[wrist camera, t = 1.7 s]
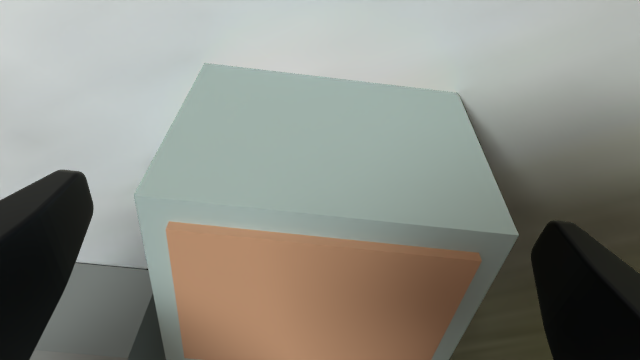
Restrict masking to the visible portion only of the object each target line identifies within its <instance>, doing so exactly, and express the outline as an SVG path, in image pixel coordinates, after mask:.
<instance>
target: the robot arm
mask: <svg viewBox="0 0 640 360" xmlns="http://www.w3.org/2000/svg"><path fill="white" fill-rule="evenodd" d="M92 215H93V201H92V198H91V194H90V190H89V187H88V183H87V180H86V177H85V175H84V174H83V173H82V172H79V171H71V170H58V171H55V172H53V173H51V174H50V175H48V176H46V177H44V178H42V179H40V180H38V181H36V182H34V183H32V184H30V185H29V186H27V187H25V188H23V189H21V190H19V191H17V192H15V193H13V194H11V195H10V196H8V197H6V198H4V199H2V200H0V360H30V358H31V356H32V354H33V352H34V350H35V348H36V346H37V344H38V342H39V340H40V338H41V336H42V334H43V332H44V330H45V328H46V326H47V324H48V322H49V320H50V318H51V316H52V314H53V312H54V310H55V308H56V306H57V304H58V302H59V300H60V298H61V296H62V294H63V292H64V290H65V288H66V286H67V283H68V281H69V278H70V276H71V273H72V270H73V268H74V265H75V262H76V259H77V257H78V254H79V251H80V248H81V246H82V243H83V240H84V237H85V235H86V232H87V229H88V226H89V224H90V221H91V218H92ZM531 261H532V267H533V272H534V278H535V283H536V288H537V294H538V299H539V304H540V310H541V315H542V320H543V325H544V329H545V333H546V336H547V340H548V343H549V347H550V350H551V353H552V356H553V360H640V274H639V273H638V272H636V271H635V270H634V269H633V268H631V267H630V266H629V265H627V264H626V263H625V262H623V261H622V260H621V259H620V258H618V257H617V256H616V255H614V254H613V253H612V252H610V251H609V250H608V249H607V248H605V247H604V246H603V245H601V244H600V243H599V242H598V241H596V240H595V239H594V238H592V237H591V236H590V235H588V234H587V233H586V232H585V231H583V230H582V229H581V228H579V227H578V226H577V225H575V224H574V223H571V222H564V221H551V222H549V223H548V224H547V225H546V227H545V228H544V230H543V232H542V233H541V235H540V237H539V238H538V240H537V242H536V243H535V245H534V247H533V249H532V253H531Z"/></svg>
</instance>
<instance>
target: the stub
mask: <svg viewBox="0 0 640 360" xmlns="http://www.w3.org/2000/svg"><path fill="white" fill-rule="evenodd" d="M134 199H135V204H136V209H137V214H138V219H139V224H140V230H141V235H142V240H143V245H144V250H145V255H146V260H147V265H148V270H149V275H150V281H151V286H152V291H153V296H154V301H155V306H156V311H157V316H158V321H159V327H160V332H161V337H162V342H163V347H164V352H165V357H166V360H449V359H450V357H451V355H452V354H453V352H454V350H455V348H456V347H457V345H458V343H459V341H460V339H461V338H462V336H463V334H464V332H465V331H466V329H467V327H468V325H469V323H470V322H471V320H472V318H473V316H474V315H475V313H476V311H477V309H478V307H479V306H480V304H481V302H482V300H483V298H484V297H485V295H486V293H487V291H488V290H489V288H490V286H491V284H492V282H493V281H494V279H495V277H496V275H497V274H498V272H499V270H500V268H501V266H502V265H503V263H504V261H505V259H506V258H507V256H508V254H509V252H510V250H511V249H512V247H513V245H514V243H515V242H516V240H517V238H518V236H519V234H518V232H517V230H516V227H515V225H514V223H513V220H512V218H511V216H510V213H509V211H508V209H507V206H506V204H505V202H504V199H503V197H502V195H501V192H500V190H499V188H498V185H497V183H496V181H495V178H494V176H493V174H492V171H491V169H490V167H489V164H488V162H487V160H486V157H485V155H484V153H483V150H482V148H481V146H480V143H479V141H478V139H477V136H476V134H475V132H474V129H473V127H472V125H471V122H470V120H469V118H468V115H467V113H466V111H465V108H464V106H463V104H462V101H461V99H460V97H459V94H458V93H455V92H446V91H438V90H429V89H421V88H412V87H404V86H395V85H387V84H378V83H370V82H361V81H353V80H344V79H336V78H327V77H319V76H310V75H302V74H293V73H285V72H276V71H268V70H259V69H251V68H242V67H234V66H225V65H217V64H209V63H204V65H203V67H202V69H201V71H200V73H199V74H198V76H197V78H196V80H195V82H194V84H193V86H192V88H191V89H190V91H189V93H188V95H187V97H186V99H185V101H184V103H183V104H182V106H181V108H180V110H179V112H178V114H177V116H176V117H175V119H174V121H173V123H172V125H171V127H170V129H169V131H168V132H167V134H166V136H165V138H164V140H163V142H162V144H161V146H160V147H159V149H158V151H157V153H156V155H155V157H154V159H153V160H152V162H151V164H150V166H149V168H148V170H147V172H146V174H145V175H144V177H143V179H142V181H141V183H140V185H139V187H138V189H137V190H136V192H135V194H134Z"/></svg>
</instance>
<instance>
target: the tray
mask: <svg viewBox="0 0 640 360" xmlns="http://www.w3.org/2000/svg"><path fill="white" fill-rule="evenodd" d="M30 360H165V352H164V347H163V342H162V337H161V332H160V327H159V321H158V316H157V311H156V306H155V301H154V296H153V291H152V286H151V281H150V275H149V270H144V269H133V268H123V267H112V266H102V265H91V264H81V263H75V265H74V268H73V270H72V273H71V276H70V278H69V281H68V283H67V286H66V288H65V290H64V292H63V294H62V296H61V298H60V300H59V302H58V304H57V306H56V308H55V310H54V312H53V314H52V316H51V318H50V320H49V322H48V324H47V326H46V328H45V330H44V332H43V334H42V336H41V338H40V340H39V342H38V344H37V346H36V348H35V350H34V352H33V354H32V356H31V358H30Z"/></svg>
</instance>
